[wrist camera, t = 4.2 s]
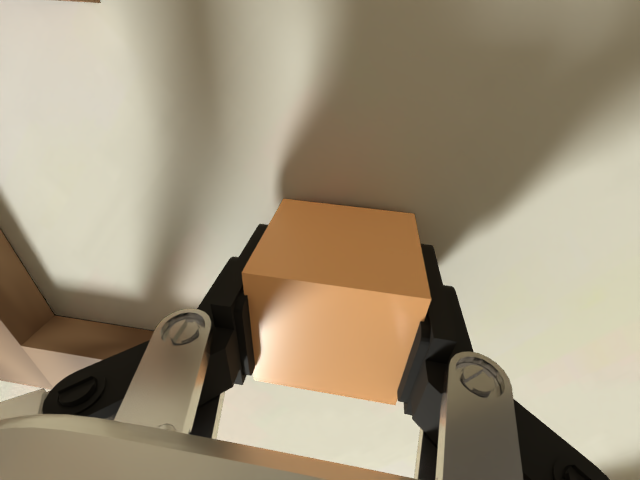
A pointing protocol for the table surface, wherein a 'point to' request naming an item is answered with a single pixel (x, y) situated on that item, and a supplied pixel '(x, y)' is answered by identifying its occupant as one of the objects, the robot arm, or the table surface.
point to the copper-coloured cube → (336, 299)
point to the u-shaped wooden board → (48, 329)
